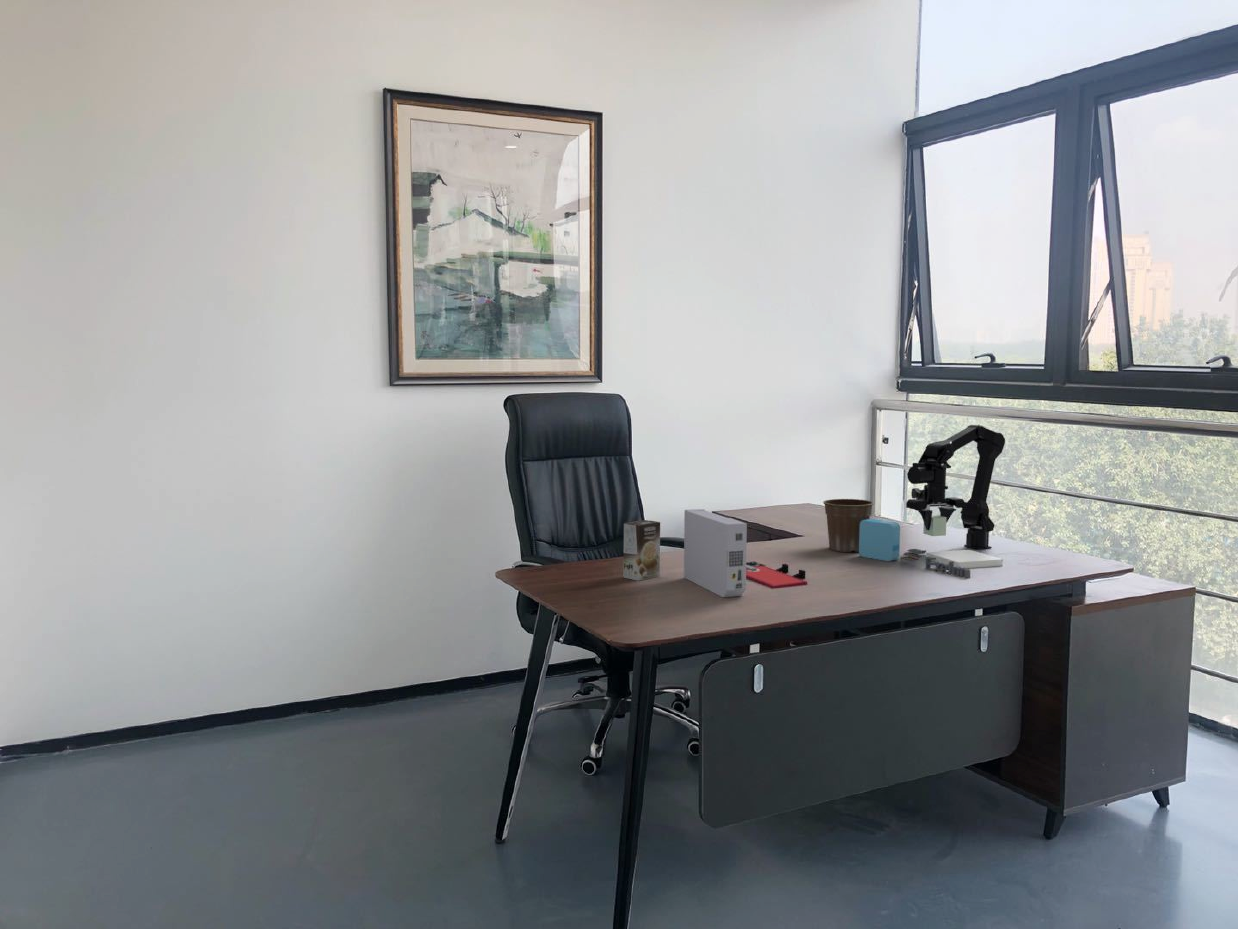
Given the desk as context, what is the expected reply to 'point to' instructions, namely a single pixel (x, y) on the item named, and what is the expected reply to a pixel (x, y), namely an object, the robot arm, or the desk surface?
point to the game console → (715, 552)
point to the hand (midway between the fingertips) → (934, 529)
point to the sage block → (936, 526)
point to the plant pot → (846, 522)
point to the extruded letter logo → (936, 564)
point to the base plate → (966, 558)
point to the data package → (879, 539)
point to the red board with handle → (773, 575)
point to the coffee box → (641, 550)
